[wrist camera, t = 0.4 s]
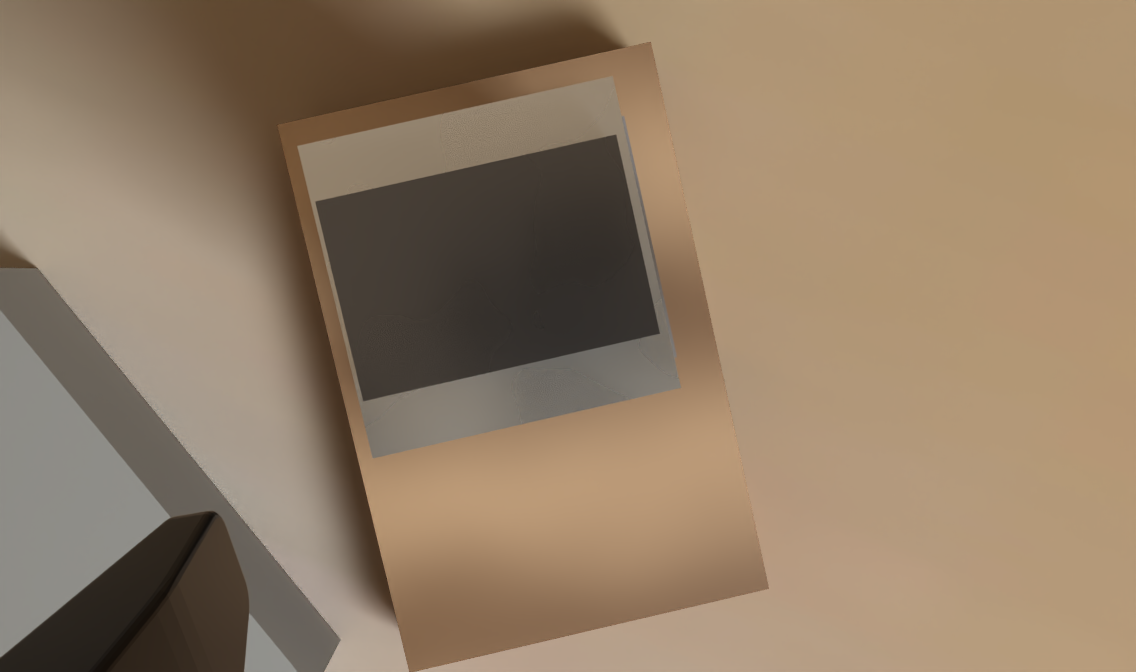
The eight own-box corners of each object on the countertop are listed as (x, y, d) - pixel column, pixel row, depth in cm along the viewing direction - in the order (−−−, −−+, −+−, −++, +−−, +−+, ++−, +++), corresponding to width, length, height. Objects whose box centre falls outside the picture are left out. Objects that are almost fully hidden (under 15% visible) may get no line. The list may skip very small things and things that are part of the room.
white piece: (624, 344, 21) (690, 395, 12) (432, 388, 21) (361, 470, 12) (580, 151, 21) (618, 62, 12) (386, 194, 21) (281, 138, 12)
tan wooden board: (749, 563, 25) (780, 603, 22) (419, 639, 24) (403, 691, 21) (640, 61, 24) (656, 30, 21) (298, 137, 24) (264, 117, 21)
